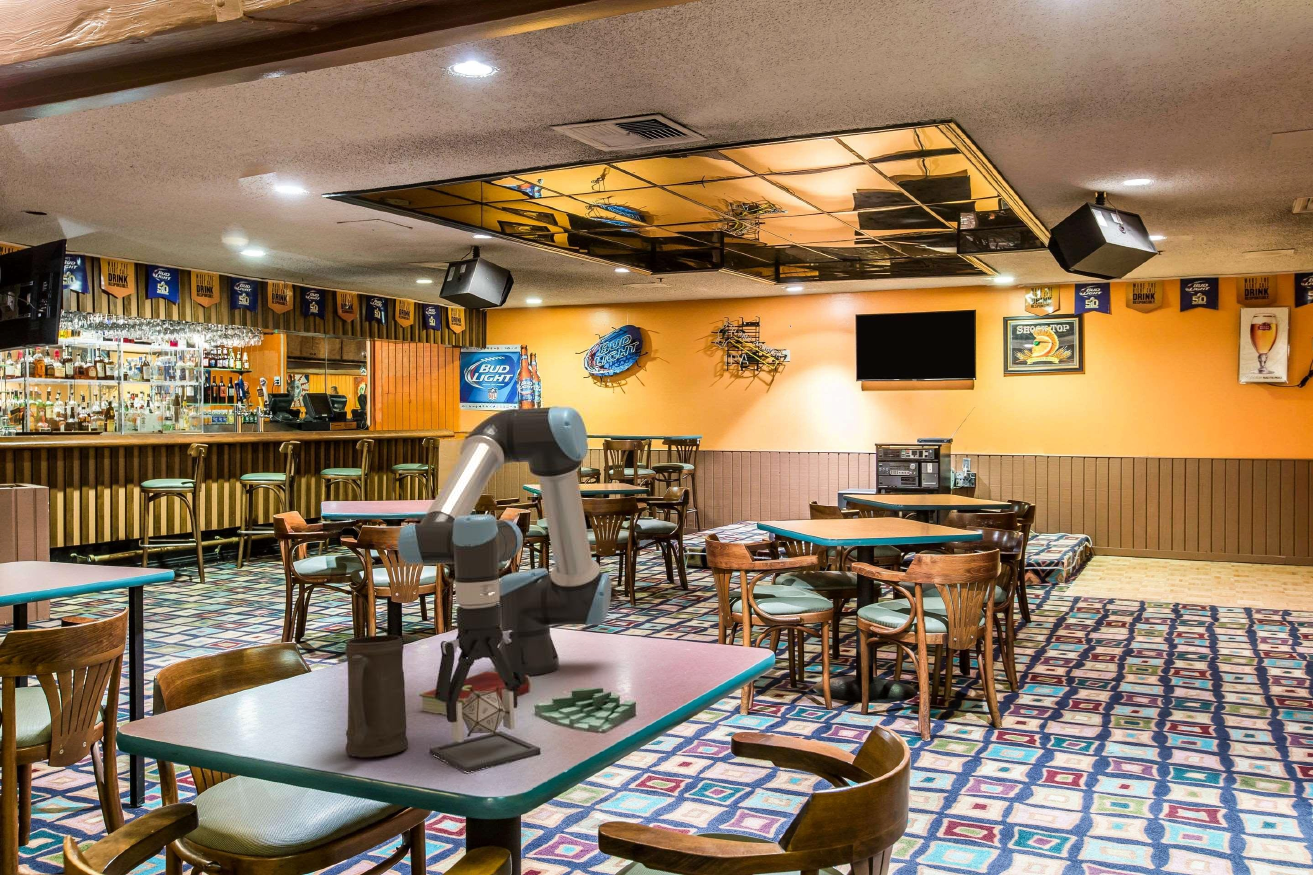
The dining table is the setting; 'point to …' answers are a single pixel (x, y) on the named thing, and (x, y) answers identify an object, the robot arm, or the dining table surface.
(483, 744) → the mat
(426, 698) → the hardcover book
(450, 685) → the robot arm
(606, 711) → the green curved brick section
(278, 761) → the dining table surface
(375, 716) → the beer stein
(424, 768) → the dining table surface
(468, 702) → the game die
